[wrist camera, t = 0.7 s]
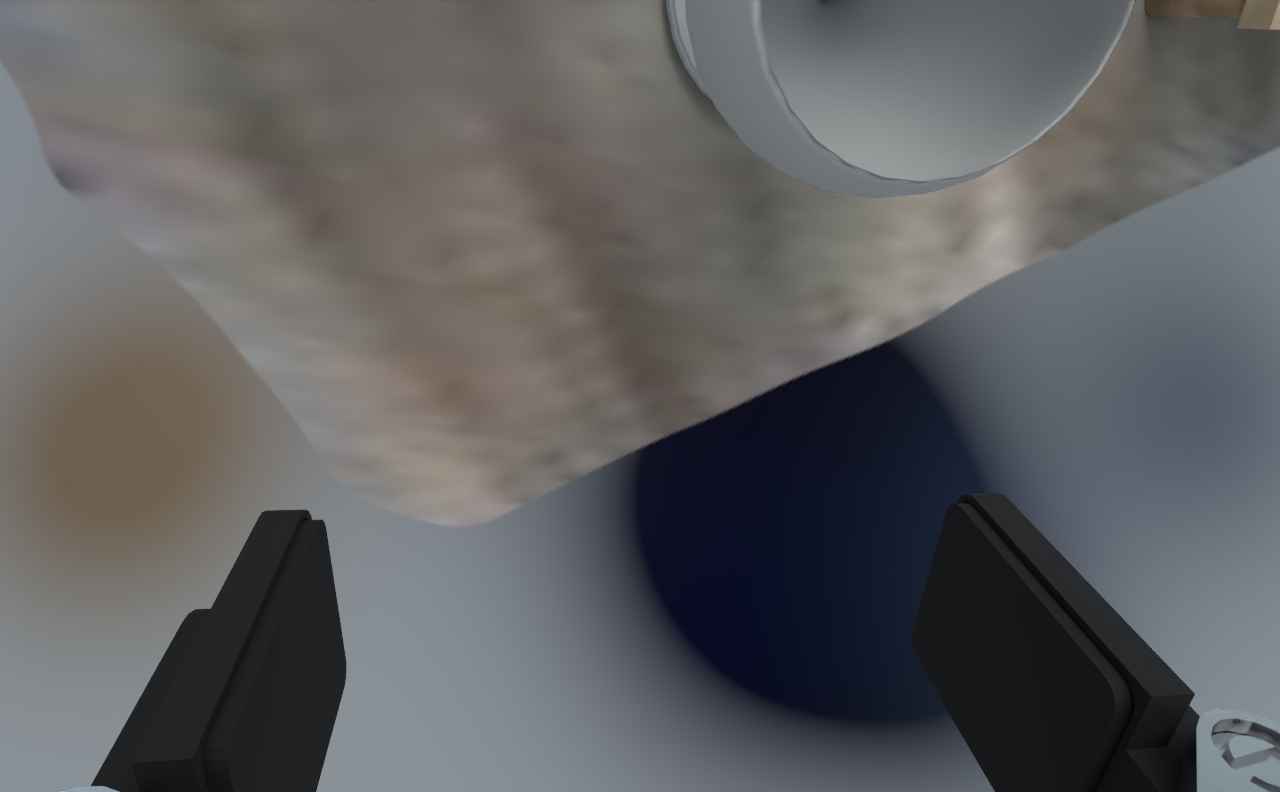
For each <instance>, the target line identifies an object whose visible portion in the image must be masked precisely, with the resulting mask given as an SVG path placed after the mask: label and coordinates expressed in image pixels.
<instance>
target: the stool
mask: <svg viewBox="0 0 1280 792" xmlns="http://www.w3.org/2000/svg"><path fill="white" fill-rule="evenodd" d="M1145 8H1146V11H1147V13H1148V14H1149V15H1150V16H1151V17H1155V18H1233V19H1240V21H1239V24H1238V27H1237V29H1261V30H1280V0H1146V1H1145Z"/></svg>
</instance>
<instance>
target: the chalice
mask: <svg viewBox="0 0 1280 792" xmlns="http://www.w3.org/2000/svg"><path fill="white" fill-rule="evenodd" d="M1134 1H1135V0H666V8H667V14H668V19H669V24H670V29H671V35H672V39H673V42H674V44H675V46H676V49H677V51H678V54H679V56H680V58H681V61H682V63H683V65H684V68H685V69H686V71H687V72H688V74H689V75H690V76H691V78H692V79H693V81H694V82H695V83H696V85H697V86H698V88H699V89H700V90H701V92H702V93H703V94H704V95H705V96H707V97H708V98H709V99H710V100H711V101H712V102H713V103H714V105H715V107H716V109H717V111H718V112H719V113H720V114H721V116H722V117H723V118H724V119H725V121H726V122H727V123H728V125H729V126H730V127H731V128H732V130H733V131H734V132H735V133H736V135H737V136H738V137H739V138H740V140H741V141H742V142H743V143H744V144H745V145H746V146H747V147H748V148H749V149H750V150H752V151H753V152H754V153H756V154H757V155H758V156H760V157H761V158H762V159H764V160H765V161H766V162H768V163H769V164H770V165H772V166H773V167H774V168H776V169H777V170H778V171H780V172H781V173H782V174H784V175H786V176H789V177H791V178H794V179H796V180H798V181H801V182H803V183H806V184H808V185H810V186H813V187H815V188H818V189H820V190H824V191H829V192H835V193H843V194H850V195H857V196H864V197H871V198H880V197H894V196H904V195H914V194H924V193H929V192H933V191H937V190H940V189H943V188H946V187H949V186H952V185H955V184H958V183H961V182H964V181H967V180H970V179H973V178H976V177H979V176H981V175H982V174H984V173H986V172H988V171H989V170H991V169H993V168H995V167H996V166H998V165H1000V164H1002V163H1003V162H1005V161H1007V160H1009V159H1010V158H1012V157H1014V156H1016V155H1017V154H1019V153H1021V152H1022V151H1024V150H1025V149H1027V148H1028V147H1030V146H1031V145H1032V144H1034V143H1035V142H1036V141H1037V140H1038V139H1039V138H1040V137H1042V136H1043V135H1044V134H1045V133H1046V132H1047V131H1049V130H1050V129H1051V128H1052V127H1053V126H1054V125H1055V124H1057V123H1058V122H1059V121H1060V120H1061V119H1062V118H1063V117H1065V116H1066V115H1067V113H1068V112H1069V111H1070V110H1071V108H1072V107H1073V106H1074V105H1075V104H1076V102H1077V101H1078V100H1079V99H1080V97H1081V96H1082V95H1083V94H1084V93H1085V91H1086V90H1087V89H1088V88H1089V86H1090V85H1091V84H1092V83H1093V82H1094V80H1095V79H1096V78H1097V77H1098V75H1099V74H1100V72H1101V70H1102V68H1103V67H1104V65H1105V63H1106V61H1107V59H1108V58H1109V56H1110V54H1111V52H1112V51H1113V49H1114V47H1115V45H1116V43H1117V42H1118V40H1119V38H1120V36H1121V34H1122V33H1123V31H1124V29H1125V26H1126V24H1127V21H1128V18H1129V15H1130V13H1131V10H1132V7H1133V4H1134Z"/></svg>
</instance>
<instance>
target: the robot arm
mask: <svg viewBox="0 0 1280 792" xmlns="http://www.w3.org/2000/svg"><path fill="white" fill-rule="evenodd" d="M329 552H330V551H329V545H328V538H327V532H326V527H325V523H324V521H323V520H312V518H311V515H310V513H309V511H307V510H276V511H264V512H262V514H261V515H260V516H259V518H258V520H257V522H256V524H255V526H254V528H253V530H252V532H251V533H250V536H249V537H248V539H247V541H246V543H245V545H244V547H243V549H242V551H241V552H240V554H239V556H238V558H237V560H236V562H235V564H234V566H233V568H232V570H231V572H230V574H229V575H228V577H227V579H226V581H225V583H224V585H223V587H222V589H221V591H220V593H219V594H218V596H217V598H216V600H215V602H214V604H213V606H212V608H211V609H196V610H194V611H192V612H191V613H189V614H188V615H187V617H186V618H185V619H184V621H183V622H182V624H181V626H180V627H179V629H178V631H177V633H176V635H175V636H174V638H173V640H172V642H171V643H170V645H169V647H168V649H167V651H166V652H165V654H164V656H163V658H162V660H161V661H160V663H159V665H158V667H157V669H156V670H155V672H154V674H153V676H152V677H151V679H150V681H149V683H148V685H147V686H146V688H145V690H144V692H143V694H142V695H141V697H140V699H139V701H138V702H137V704H136V706H135V708H134V710H133V711H132V713H131V715H130V717H129V718H128V720H127V722H126V724H125V726H124V728H123V729H122V731H121V733H120V735H119V736H118V738H117V740H116V742H115V744H114V746H113V747H112V749H111V751H110V752H109V754H108V756H107V758H106V760H105V761H104V763H103V765H102V767H101V769H100V770H99V772H98V774H97V776H96V777H95V779H94V781H93V783H92V785H91V786H80V787H76V788H72V789H67V790H63V791H59V792H316V790H317V786H318V782H319V779H320V775H321V771H322V767H323V764H324V760H325V756H326V753H327V749H328V745H329V742H330V738H331V734H332V731H333V727H334V723H335V720H336V716H337V712H338V709H339V705H340V701H341V697H342V694H343V690H344V686H345V679H346V658H345V651H344V644H343V637H342V631H341V624H340V617H339V611H338V604H337V598H336V592H335V584H334V578H333V571H332V565H331V558H330V553H329ZM912 646H913V650H914V654H915V656H916V658H917V659H918V661H919V663H920V665H921V666H922V668H923V670H924V672H925V673H926V675H927V677H928V678H929V680H930V682H931V684H932V685H933V687H934V688H935V690H936V692H937V694H938V695H939V697H940V699H941V700H942V702H943V704H944V706H945V707H946V709H947V711H948V712H949V714H950V716H951V718H952V719H953V721H954V723H955V724H956V726H957V728H958V729H959V731H960V733H961V734H962V736H963V738H964V740H965V741H966V743H967V745H968V746H969V748H970V750H971V752H972V753H973V755H974V757H975V758H976V760H977V762H978V763H979V765H980V767H981V769H982V770H983V772H984V774H985V775H986V777H987V779H988V781H989V782H990V784H991V786H992V787H993V789H994V791H995V792H1280V726H1279V725H1277V724H1275V723H1273V722H1271V721H1269V720H1267V719H1265V718H1263V717H1259V716H1256V715H1253V714H1250V713H1247V712H1244V711H1239V710H1231V709H1218V710H1211V711H1208V712H1206V713H1205V714H1204V715H1202V716H1201V717H1199V715H1198V714H1197V713H1196V712H1195V711H1194V710H1193V709H1192V708H1191V707H1190V706H1189V704H1190V702H1191V700H1192V699H1193V697H1194V695H1195V694H1194V693H1193V691H1192V690H1191V689H1190V688H1189V687H1188V686H1187V685H1186V684H1185V683H1184V682H1183V681H1182V680H1181V679H1180V678H1179V677H1178V676H1177V675H1176V674H1175V673H1174V672H1173V671H1172V670H1171V669H1170V667H1168V665H1167V664H1166V663H1165V662H1164V661H1163V660H1162V659H1161V658H1160V657H1159V656H1158V655H1157V654H1156V653H1155V652H1154V651H1153V650H1152V649H1151V648H1150V647H1149V646H1148V645H1147V644H1146V642H1145V641H1144V640H1143V639H1142V638H1141V637H1140V636H1139V635H1138V634H1137V633H1136V632H1135V631H1134V630H1133V629H1132V628H1131V627H1130V626H1129V625H1128V624H1127V623H1126V622H1125V621H1124V619H1123V618H1122V617H1121V616H1120V615H1119V614H1118V613H1117V612H1116V611H1115V610H1114V609H1113V608H1112V607H1111V606H1110V605H1109V604H1108V603H1107V602H1106V601H1105V600H1104V599H1103V598H1102V597H1101V595H1100V594H1099V593H1098V592H1097V591H1096V590H1095V589H1094V588H1093V587H1092V586H1091V585H1090V584H1089V583H1088V582H1087V581H1086V580H1085V579H1084V578H1083V577H1082V576H1081V575H1080V574H1079V573H1078V572H1077V571H1076V569H1075V568H1074V567H1073V566H1072V565H1071V564H1070V563H1069V562H1068V561H1067V560H1066V559H1065V558H1064V557H1063V556H1062V555H1061V554H1060V553H1059V552H1058V551H1057V550H1056V549H1055V547H1054V546H1052V545H1051V543H1050V542H1049V541H1048V540H1047V539H1046V538H1045V537H1044V536H1043V535H1042V534H1041V533H1040V532H1039V531H1038V530H1037V529H1036V528H1035V527H1034V526H1033V525H1032V523H1031V522H1030V521H1029V520H1028V519H1027V518H1026V517H1025V516H1024V515H1023V514H1022V513H1021V512H1020V511H1019V510H1018V509H1017V508H1016V507H1015V506H1014V505H1013V504H1012V503H1011V502H1010V501H1009V500H1008V498H1006V497H1005V496H1004V495H1002V494H998V493H997V494H996V493H995V494H965V495H962V496H961V497H960V498H959V499H958V501H957V503H956V504H952V505H951V506H950V507H949V508H948V510H947V513H946V516H945V519H944V523H943V526H942V530H941V534H940V537H939V540H938V544H937V547H936V551H935V554H934V558H933V561H932V565H931V568H930V572H929V575H928V579H927V582H926V586H925V589H924V593H923V596H922V600H921V603H920V607H919V610H918V614H917V617H916V621H915V624H914V627H913V631H912Z"/></svg>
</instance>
